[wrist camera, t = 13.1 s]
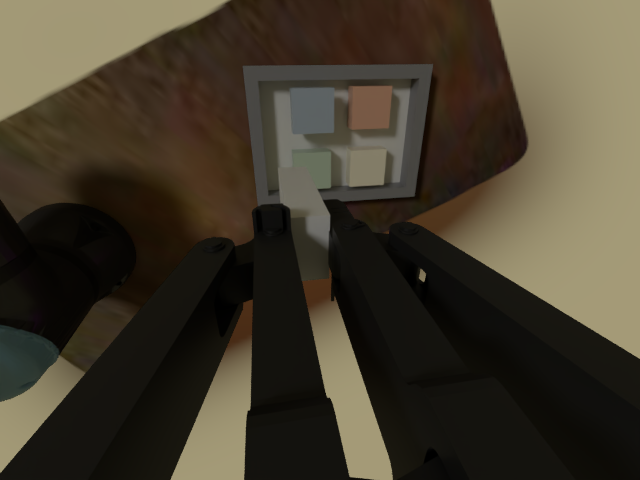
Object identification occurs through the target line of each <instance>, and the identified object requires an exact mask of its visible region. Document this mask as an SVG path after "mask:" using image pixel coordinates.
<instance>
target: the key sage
mask: <svg viewBox="0 0 640 480" xmlns="http://www.w3.org/2000/svg"><path fill="white" fill-rule="evenodd" d="M305 166H306V167H307V169H308V171H309V173H310V175H311V177H312V179H313V181H314V183H315V185H316V188H317V189H324V188H331V151H330V150H329V149H328V148H313V149H292V167H305Z"/></svg>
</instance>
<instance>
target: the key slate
mask: <svg viewBox="0 0 640 480" xmlns="http://www.w3.org/2000/svg"><path fill="white" fill-rule="evenodd" d="M290 108H291V128H292V133H293V134H316V133H334V88H333V87H292V88H290Z"/></svg>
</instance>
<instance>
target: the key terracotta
mask: <svg viewBox="0 0 640 480" xmlns="http://www.w3.org/2000/svg"><path fill="white" fill-rule="evenodd" d="M391 97H392V86H389V85H364V86H348V117H347V127H348V128H350V129H351V130H356V129H383V128H389V119H390V108H391Z"/></svg>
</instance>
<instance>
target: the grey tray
mask: <svg viewBox="0 0 640 480" xmlns="http://www.w3.org/2000/svg"><path fill="white" fill-rule="evenodd" d="M432 68H433V64H410V65H295V66H243V72H244V81H245V90H246V100H247V109H248V118H249V127H250V136H251V145H252V154H253V163H254V172H255V182H256V191H257V200H258V206H260V205H262V204H278V203H280V191H279V175H278V168H283V167H292V149H313V148H328V149H329V150H330V151H331V188H324V189H317V190H318V192H319V194H320V196H321V198H322V200H329V199H338V200H340V201H356V200H371V199H385V198H399V197H414V196H415V189H416V182H417V175H418V168H419V160H420V153H421V146H422V139H423V132H424V125H425V118H426V111H427V104H428V96H429V89H430V82H431V75H432ZM364 85H389V86H392V97H391V108H390V119H389V128H383V129H356V130H351V129H350V128H348V127H347V117H348V86H364ZM292 87H333V88H334V133H316V134H293V133H292V128H291V108H290V88H292ZM379 145H381V146H383V147H384V148H386V149H387V153H386V164H385V175H384V185H371V186H355V187H349V186H348V184H347V183H346V150H347V147H357V146H379Z"/></svg>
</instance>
